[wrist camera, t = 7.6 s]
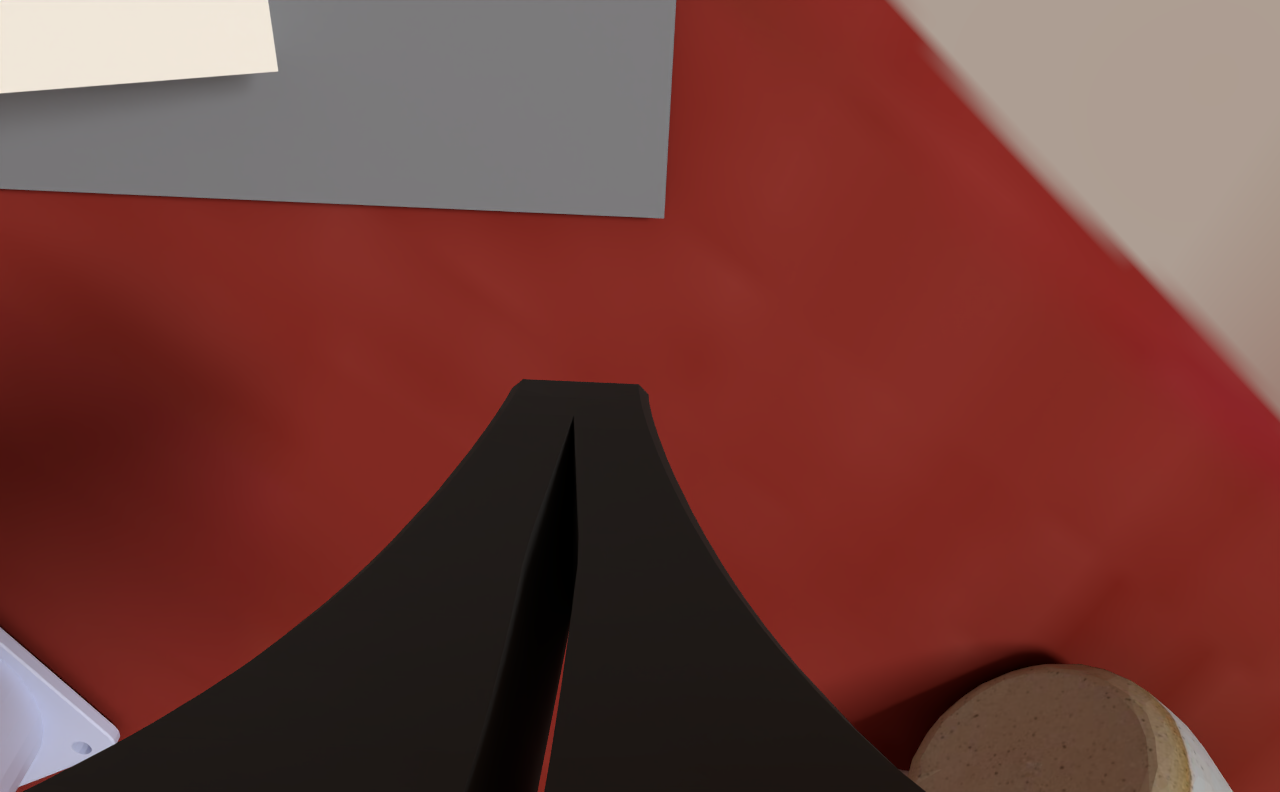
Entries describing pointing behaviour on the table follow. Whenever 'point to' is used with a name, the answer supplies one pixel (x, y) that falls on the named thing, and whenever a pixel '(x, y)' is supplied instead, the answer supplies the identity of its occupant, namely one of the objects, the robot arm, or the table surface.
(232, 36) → the domino
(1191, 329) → the table surface
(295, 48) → the mat
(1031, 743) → the ceramic mug
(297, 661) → the robot arm
